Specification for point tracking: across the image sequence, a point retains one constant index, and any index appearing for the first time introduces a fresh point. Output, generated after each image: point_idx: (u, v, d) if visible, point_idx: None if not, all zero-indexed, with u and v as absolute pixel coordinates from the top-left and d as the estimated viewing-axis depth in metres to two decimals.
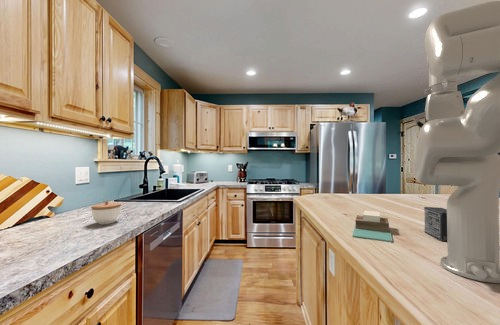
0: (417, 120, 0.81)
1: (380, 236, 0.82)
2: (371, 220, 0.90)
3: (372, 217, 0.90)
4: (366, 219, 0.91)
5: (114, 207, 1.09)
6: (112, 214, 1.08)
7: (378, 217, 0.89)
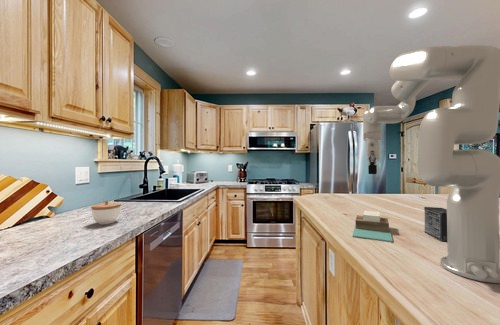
0: (373, 158, 0.96)
1: (380, 236, 0.82)
2: (371, 220, 0.90)
3: (372, 217, 0.90)
4: (366, 219, 0.91)
5: (114, 207, 1.09)
6: (112, 214, 1.08)
7: (378, 217, 0.89)
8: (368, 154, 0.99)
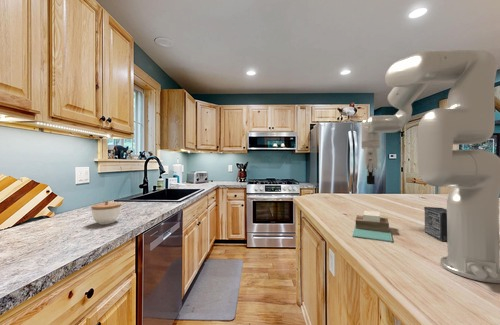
0: (372, 170, 1.00)
1: (380, 236, 0.82)
2: (371, 220, 0.90)
3: (372, 217, 0.90)
4: (366, 219, 0.91)
5: (114, 207, 1.09)
6: (112, 214, 1.08)
7: (378, 217, 0.89)
8: (366, 167, 1.01)
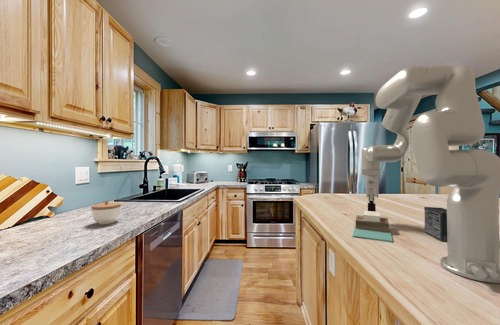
0: (372, 199, 0.99)
1: (380, 236, 0.82)
2: (371, 220, 0.90)
3: (372, 217, 0.90)
4: (366, 219, 0.91)
5: (114, 207, 1.09)
6: (112, 214, 1.08)
7: (378, 217, 0.89)
8: (367, 196, 1.00)
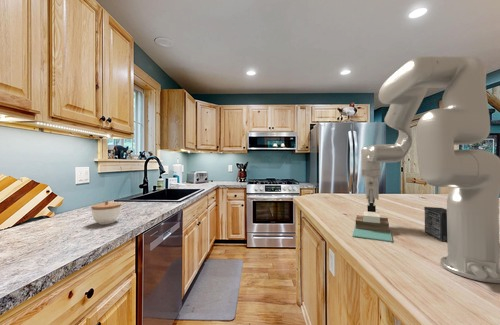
0: (372, 201, 0.95)
1: (380, 236, 0.82)
2: (371, 221, 0.89)
3: (371, 217, 0.89)
4: (366, 220, 0.90)
5: (114, 207, 1.09)
6: (112, 214, 1.08)
7: (378, 218, 0.88)
8: (367, 197, 0.96)
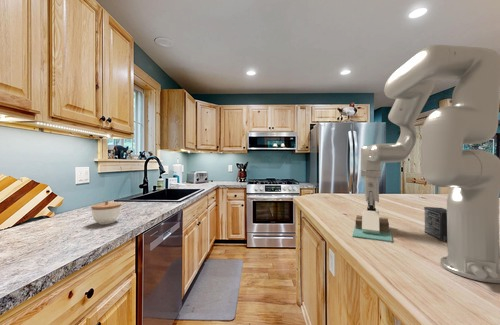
0: (372, 203, 0.90)
1: (380, 236, 0.82)
2: (370, 232, 0.86)
3: (371, 230, 0.85)
4: (365, 231, 0.87)
5: (114, 207, 1.09)
6: (112, 214, 1.08)
7: (377, 231, 0.84)
8: (366, 200, 0.91)
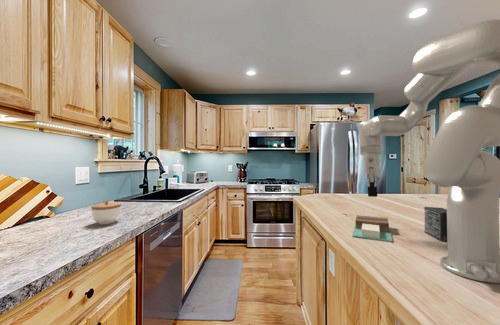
0: (373, 180, 0.85)
1: (380, 236, 0.82)
2: (370, 235, 0.82)
3: (370, 232, 0.82)
4: (364, 234, 0.83)
5: (114, 207, 1.09)
6: (112, 214, 1.08)
7: (378, 232, 0.81)
8: (367, 177, 0.85)
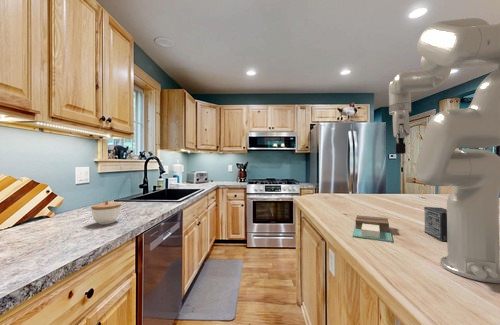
0: None
1: (380, 236, 0.82)
2: (370, 235, 0.82)
3: (370, 232, 0.82)
4: (364, 234, 0.83)
5: (114, 207, 1.09)
6: (112, 214, 1.08)
7: (378, 232, 0.81)
8: (396, 133, 0.88)
